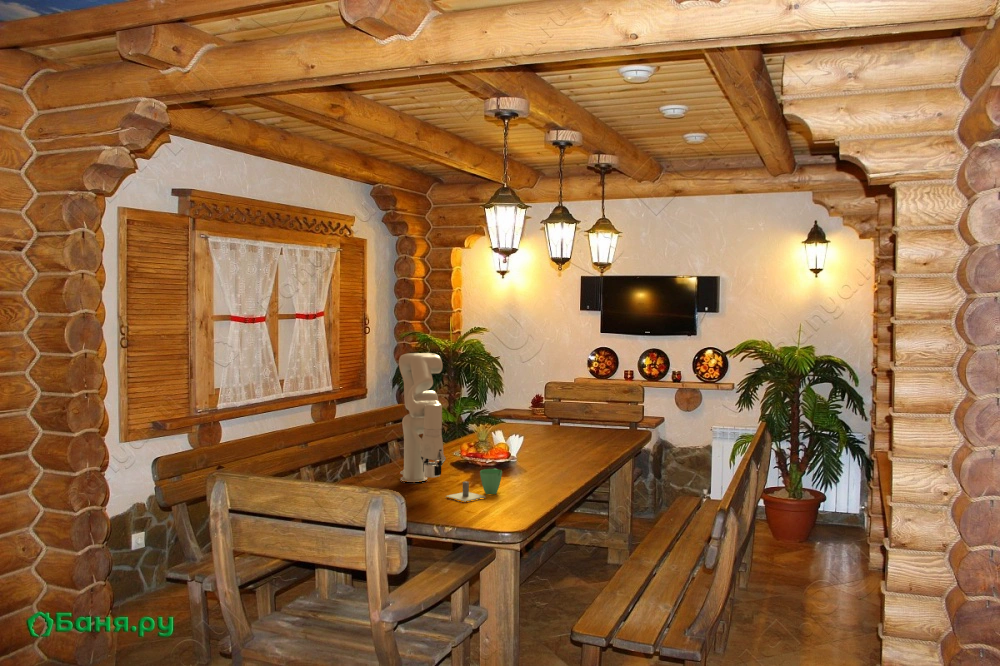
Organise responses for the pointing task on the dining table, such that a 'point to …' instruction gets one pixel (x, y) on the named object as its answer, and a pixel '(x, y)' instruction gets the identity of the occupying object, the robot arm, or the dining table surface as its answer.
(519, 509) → the dining table surface
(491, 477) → the mug
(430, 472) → the white hollow cylinder
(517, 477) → the dining table surface
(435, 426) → the robot arm
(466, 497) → the square base peg stand
